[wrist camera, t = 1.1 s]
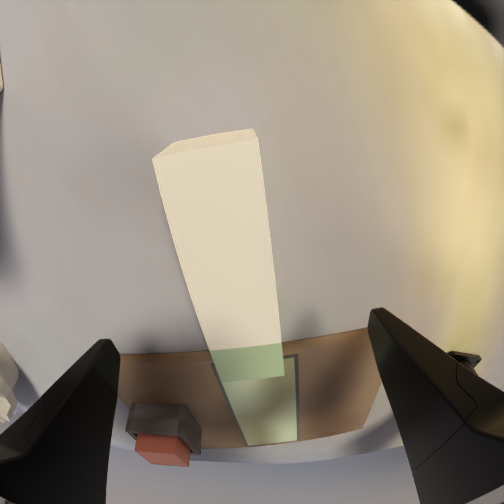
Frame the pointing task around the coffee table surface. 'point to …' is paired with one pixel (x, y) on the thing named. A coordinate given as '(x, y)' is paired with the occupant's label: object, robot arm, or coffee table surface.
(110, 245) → the coffee table surface
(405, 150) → the coffee table surface
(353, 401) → the brown control panel
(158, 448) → the button
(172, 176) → the block
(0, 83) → the ink cartridge box
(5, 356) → the flag stand
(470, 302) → the coffee table surface
